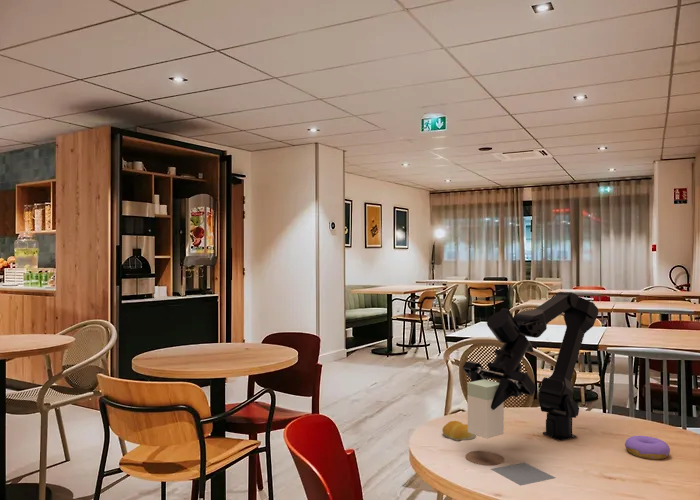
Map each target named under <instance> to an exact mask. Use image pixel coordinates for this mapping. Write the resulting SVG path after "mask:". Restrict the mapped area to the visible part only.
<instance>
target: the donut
mask: <svg viewBox="0 0 700 500" xmlns="http://www.w3.org/2000/svg"><path fill="white" fill-rule="evenodd" d="M624 446H625V449H626V450H627V451H628V452H629V453H630V454H631V455H633V456H636V457H638V458H642V459H647V460H662V459H665V458H667V457H668V456H669V455H670V453H671V448H670V446H669V445H668V443H666V441H664V440H662V439H659V438H657V437H652V436H646V435H633V436H630V437H628V438H627V439H626V440H625V443H624Z"/></svg>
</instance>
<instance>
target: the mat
mask: <svg viewBox="0 0 700 500" xmlns="http://www.w3.org/2000/svg"><path fill="white" fill-rule="evenodd" d="M490 470H492V471H493V472H495V473H497V474H499V475H500V476H502V477H504V478H506V479H508V480H510V481H512V482H514V483H515V484H517V485H519V486H525V485H530V484H534V483H539V482H545V481H549V480H553V479H556V478H557V477H556V476H553V475H551V474H549V473H547V472H545V471H544V470H542V469H539V468H537V467H536V466H533V465H530V464H529V463H526V462H524V461H523V462H519V463H514V464H510V465H504V466H503V465H502V466H498V467H494V468H490Z"/></svg>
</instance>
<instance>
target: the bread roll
mask: <svg viewBox="0 0 700 500" xmlns="http://www.w3.org/2000/svg"><path fill="white" fill-rule="evenodd" d="M441 431H442V434H443V435H444V437H445V438H447V439H451V440H453V441H456V442H461V441H471V440H474V439H475V438H476V437H477V435H474V434H471V433H469V432H468V424H465V423H462V422H460V421H458V420H451V421H449V422H447V423H446V424H445V425H443V427H442V429H441Z"/></svg>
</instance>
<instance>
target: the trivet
mask: <svg viewBox="0 0 700 500" xmlns="http://www.w3.org/2000/svg"><path fill="white" fill-rule="evenodd" d="M465 459H466V461H468V462H469V463H472V464H475V465H478V466H499V465H502V463H504V460H505V459H504V457H503V456H502V455H500V454H498V453H496V452H493V451H492V452H491V451H486V450H474V451H470V452H468V453H466V454H465Z"/></svg>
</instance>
